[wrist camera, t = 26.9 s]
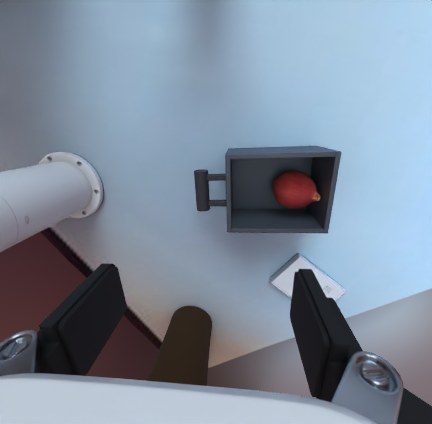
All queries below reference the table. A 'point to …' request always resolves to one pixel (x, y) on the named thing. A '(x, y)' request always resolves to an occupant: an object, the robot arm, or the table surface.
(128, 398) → the robot arm
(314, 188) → the onion
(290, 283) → the hard drive
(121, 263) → the table surface
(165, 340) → the olive oil
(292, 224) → the grey drawer with handle
